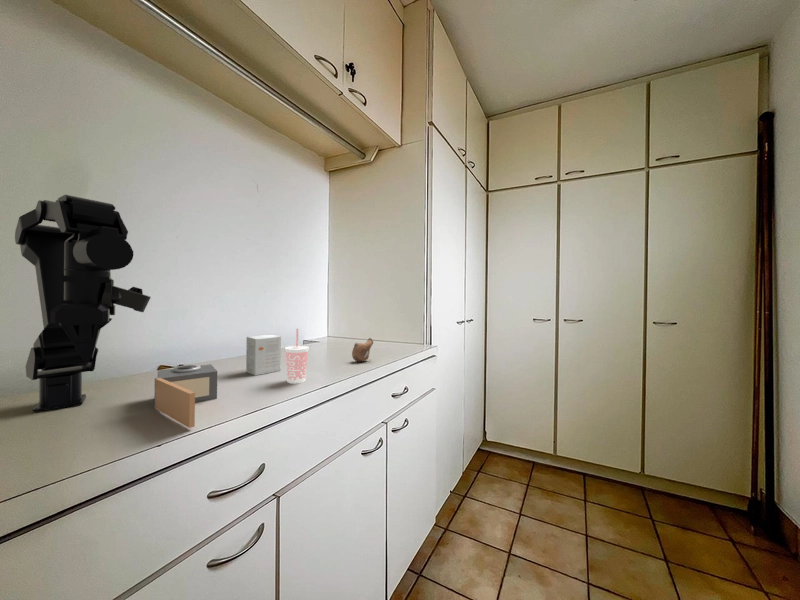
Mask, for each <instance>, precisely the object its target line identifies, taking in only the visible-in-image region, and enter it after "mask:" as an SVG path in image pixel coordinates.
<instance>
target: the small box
mask: <svg viewBox="0 0 800 600" xmlns="http://www.w3.org/2000/svg"><path fill="white" fill-rule="evenodd" d="M245 350H246V354H245V355H246V362H245V363H246V368H245V370H246V373H248V374H250V375H252V376H259V375H264V374H270V373H274V372H280V371H281V370H282V368H281V366H282V365H281V364H282V336H280V335H276V334H263V335H252V336H247V337H246V349H245Z"/></svg>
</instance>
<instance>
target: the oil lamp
mask: <svg viewBox="0 0 800 600" xmlns="http://www.w3.org/2000/svg"><path fill="white" fill-rule="evenodd" d="M373 344H374V341H373V339H372V338H371V337H369V338H368V340H366V341H365V343H361V342H360V343H359V342H355V343H354V346H353V348H352V351H351V357H352V359H353V360H354V361H355V362H358V363H361V361H362V362H364V361H367V360H369V359H370V358H369V357H370V350H371V348H372V346H373Z"/></svg>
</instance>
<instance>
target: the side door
mask: <svg viewBox="0 0 800 600" xmlns="http://www.w3.org/2000/svg"><path fill="white" fill-rule="evenodd" d="M153 402H154V409H156V410H157V411H159V412H160V413H162V414H164V415H166V416H168V417H170V418H171V419H173V420H174V421H176V422H178V423H180V424H181V425H183V426H185V427H187V428H188V429H190V428H194V427H195V423H196V421H195V420H196V419H195V418H196V415H195V414H196V410H195V409H196V402H195V392H193V391H190V390H188V389H185V388H183V387H181V386H178V385H176V384H174V383H171V382H169V381H167V380H164V379H162V378H158V377H154V401H153Z"/></svg>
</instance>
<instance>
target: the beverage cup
mask: <svg viewBox="0 0 800 600" xmlns="http://www.w3.org/2000/svg"><path fill="white" fill-rule="evenodd" d="M295 332H296V334H295V335H296V336H295V338H296V341H295V345H289V346H286V347H284V352H285V358H286V359H285V361H286V381H287V383H289V384H294V385H295V384H301V383H305V382H306V377H307V367H308V366H307V365H308V355H309V354H308V352H309V348H310V347H309V346H307V345H299V328H296V331H295ZM304 381H305V382H304Z"/></svg>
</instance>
